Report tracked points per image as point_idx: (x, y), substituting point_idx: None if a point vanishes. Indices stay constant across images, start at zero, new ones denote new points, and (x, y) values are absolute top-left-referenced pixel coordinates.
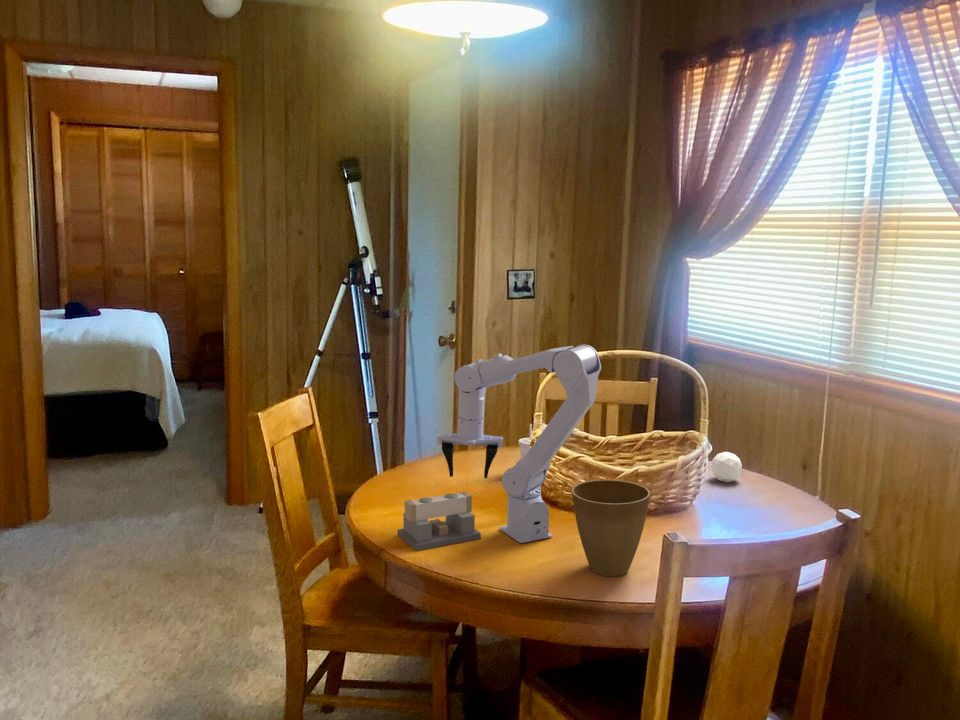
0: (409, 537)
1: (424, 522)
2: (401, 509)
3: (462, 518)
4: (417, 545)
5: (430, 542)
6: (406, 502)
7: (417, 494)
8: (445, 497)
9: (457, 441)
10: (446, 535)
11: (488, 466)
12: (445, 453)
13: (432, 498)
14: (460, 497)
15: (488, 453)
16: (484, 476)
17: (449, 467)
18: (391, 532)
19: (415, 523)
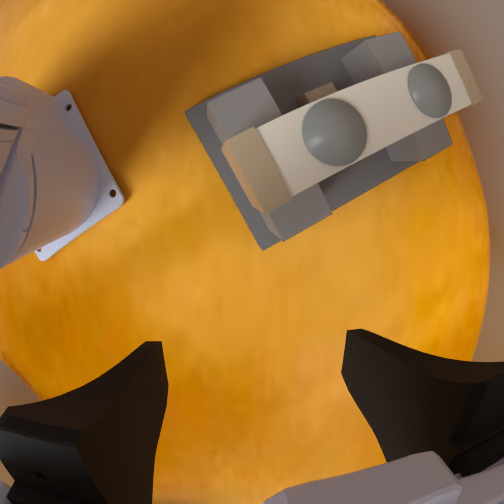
0: None
1: (387, 50)
2: (410, 337)
3: (257, 79)
4: (371, 36)
5: (341, 45)
6: (476, 85)
7: (363, 429)
8: (360, 119)
9: (485, 475)
10: (300, 91)
11: (116, 372)
12: (487, 365)
13: (410, 115)
14: (287, 118)
15: (70, 421)
16: (157, 344)
17: (393, 344)
18: (435, 172)
19: (410, 53)
